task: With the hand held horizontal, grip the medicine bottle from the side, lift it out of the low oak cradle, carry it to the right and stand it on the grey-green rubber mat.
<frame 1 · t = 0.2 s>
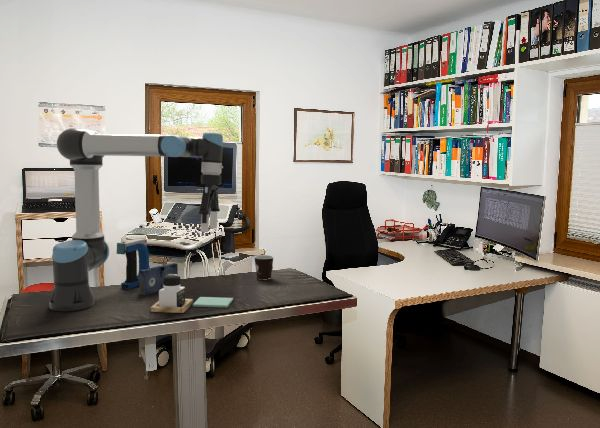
hand: (208, 230, 192), 27 cm above the table, tool pointing down, fingers open, 13 cm apart
medicine bottle: (172, 308, 185), resting in oak cradle
rubber mat: (213, 303, 191), on the table
handheld scanner: (134, 286, 214), on the table
oak cradle: (172, 307, 185), on the table
vhs cassette tape: (159, 290, 208), on the table
coffee mug: (264, 279, 228), on the table
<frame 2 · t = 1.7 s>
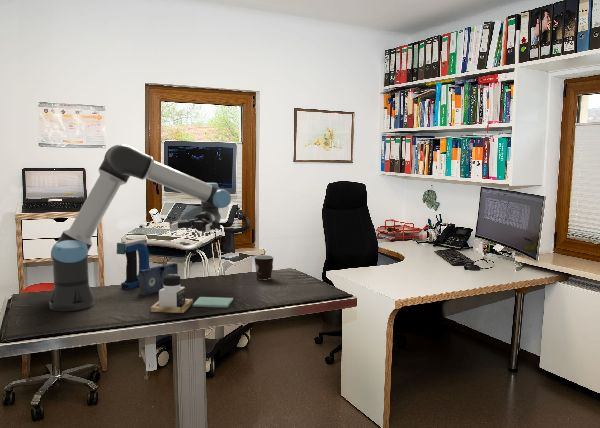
hand: (188, 228, 190), 28 cm above the table, tool horizontal, fingers open, 13 cm apart
nothing on the table moved.
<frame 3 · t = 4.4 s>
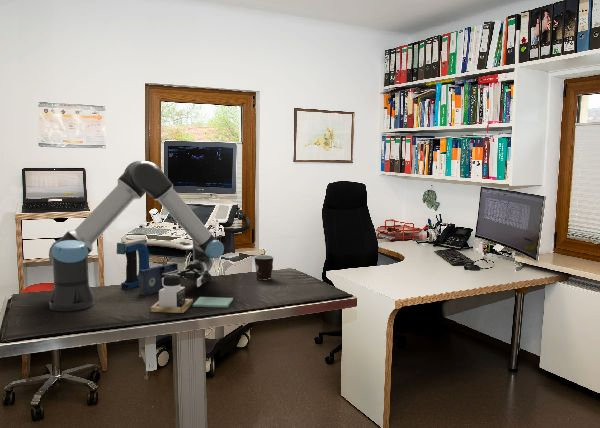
hand: (180, 282, 193), 7 cm above the table, tool horizontal, fingers open, 13 cm apart
nothing on the table moved.
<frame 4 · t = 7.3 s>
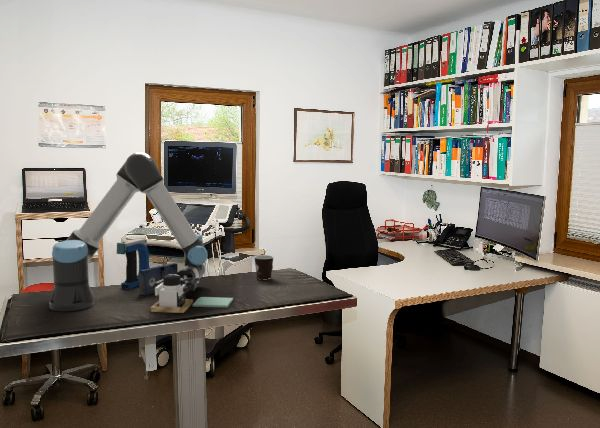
hand: (167, 292, 179), 7 cm above the table, tool horizontal, fingers closed on medicine bottle, 8 cm apart
medicine bottle: (172, 307, 185), resting in oak cradle, touching gripper
everything else where it was.
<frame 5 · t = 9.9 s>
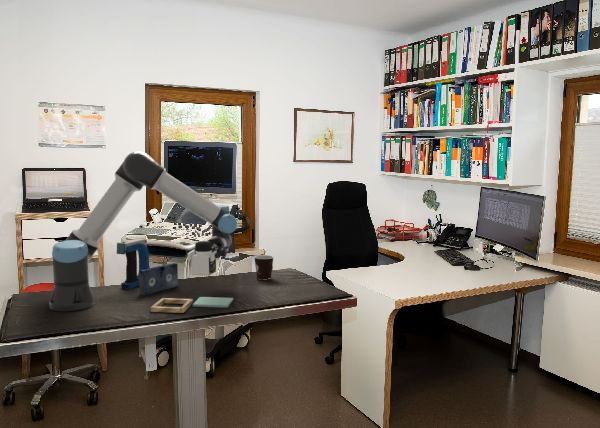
hand: (200, 257, 182), 19 cm above the table, tool horizontal, fingers closed on medicine bottle, 8 cm apart
medicine bottle: (204, 274, 188), point 12 cm above the table, touching gripper
everything else where it was.
when the fingers open (9 cm above the table, at t = 12.4 s): medicine bottle drops 1 cm, resting on rubber mat.
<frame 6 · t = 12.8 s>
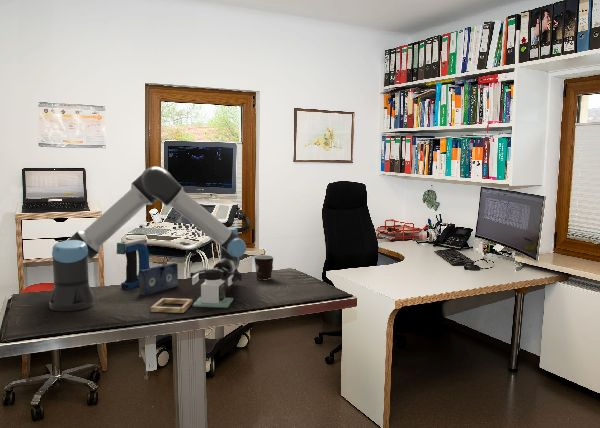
hand: (210, 281, 186), 9 cm above the table, tool horizontal, fingers open, 13 cm apart
medicine bottle: (213, 301, 191), point 1 cm above the table, touching rubber mat
everything else where it was.
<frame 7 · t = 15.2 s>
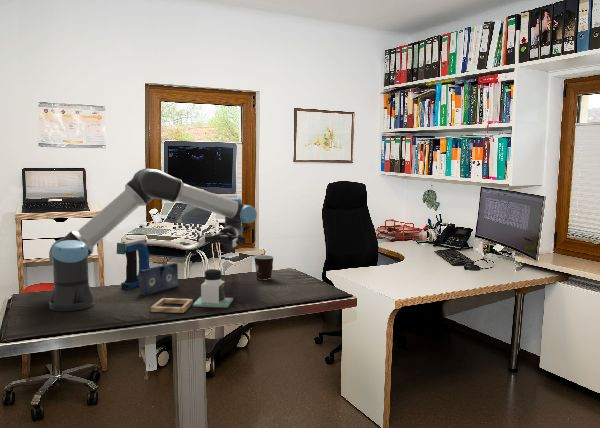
hand: (216, 243, 198), 21 cm above the table, tool horizontal, fingers open, 13 cm apart
nothing on the table moved.
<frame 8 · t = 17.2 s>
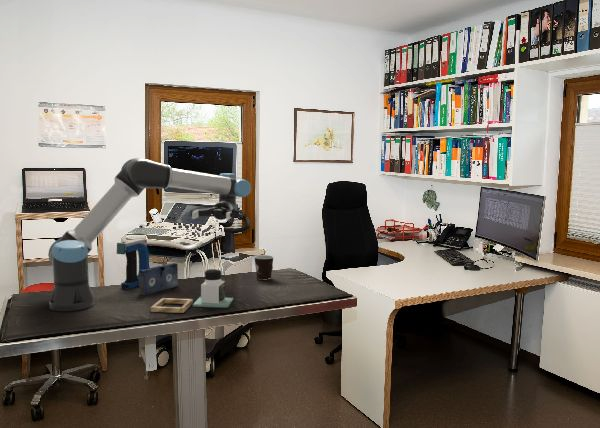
hand: (210, 216, 197), 32 cm above the table, tool horizontal, fingers open, 13 cm apart
nothing on the table moved.
at the end: medicine bottle inside the target area on the rubber mat (0.0 cm from its centre), point 0.6 cm above the rubber mat's base; medicine bottle tilted 0°; the gripper is holding nothing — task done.
